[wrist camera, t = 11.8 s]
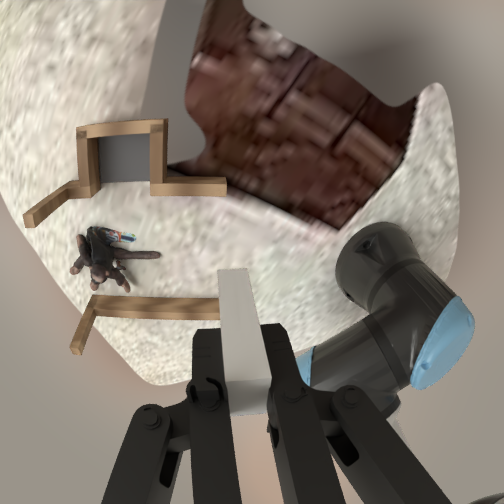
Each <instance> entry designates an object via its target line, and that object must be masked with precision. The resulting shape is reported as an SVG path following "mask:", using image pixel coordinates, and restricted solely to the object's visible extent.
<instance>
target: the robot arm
mask: <svg viewBox="0 0 504 504" xmlns="http://www.w3.org/2000/svg"><path fill="white" fill-rule="evenodd" d="M217 272H218V291H219V307H220V323H221V328H212V329H198V330H197V331H196V333H195V335H194V337H193V344H192V349H193V350H192V379H191V381H190V382H189V383H188V385H187V388H186V394H187V398H186V399H185V400H184V401H182V402H181V403H178V404H176V405H172V406H168V407H165V408H163V407H161V406H159V405H157V404H147V405H143V406H141V407H140V408H138V409H137V410H136V412H135V413H134V415H133V417H132V420H131V422H130V425H129V427H128V430H127V433H126V435H125V438H124V441H123V443H122V446H121V448H120V451H119V454H118V456H117V459H116V462H115V465H114V468H113V470H112V473H111V476H110V479H109V482H108V485H107V488H106V491H105V493H104V497H103V500H102V503H101V504H170V501H171V497H172V493H173V489H174V485H175V481H176V477H177V473H178V469H179V466H180V462H181V458H182V454H183V451H185V450H188V449H191V469H192V485H193V498H194V504H242V500H241V494H240V487H239V481H238V473H237V466H236V459H235V451H234V443H233V435H232V427H231V419H230V416H243V415H254V414H263V413H266V411H267V412H268V417H269V420H268V426H267V432H269V433H270V437H271V443H272V448H273V452H274V457H275V462H276V467H277V472H278V477H279V482H280V486H281V491H282V496H283V500H284V504H346V502H345V499H344V496H343V492H342V489H341V486H340V483H339V479H338V476H337V473H336V470H335V467H334V463H333V460H332V457H331V455H332V456H333V458H334V459H335V461H336V462H337V464H338V465H339V467H340V468H341V470H342V471H343V473H344V474H345V476H346V477H347V479H348V480H349V482H350V483H351V485H352V486H353V488H354V489H355V490H356V492H357V494H358V495H359V497H360V498H361V500H362V501H363V502H364V504H452V503H451V502H450V501H449V499H448V498H447V497H446V495H445V494H444V493H443V492H442V490H441V489H440V488H439V486H438V485H437V484H436V482H435V481H434V480H433V479H432V477H431V476H430V475H429V474H428V472H427V471H426V470H425V468H424V467H423V466H422V465H421V463H420V462H419V461H418V459H417V458H416V457H415V456H414V454H413V453H412V451H411V449H410V446H409V444H408V442H407V440H406V438H405V435H404V433H403V431H402V429H401V427H400V425H399V423H398V421H397V419H396V418H397V414H398V412H399V410H400V407H401V401H400V400H399V397H398V395H397V392H398V391H400V390H401V389H403V388H404V387H406V386H407V385H409V384H411V385H412V387H414V388H416V389H418V390H422V389H425V388H427V387H428V386H429V385H430V386H431V385H433V384H434V383H435V382H437V381H438V380H439V379H441V378H442V377H443V376H444V375H445V374H446V373H447V372H448V371H449V370H450V369H451V368H452V367H453V366H454V365H455V364H456V362H457V361H458V360H459V359H460V357H461V356H462V355H463V353H464V352H465V350H466V348H467V347H468V345H469V343H470V341H471V339H472V336H473V333H474V329H475V321H474V317H473V315H472V313H471V312H470V311H469V310H468V308H467V307H466V306H465V304H464V303H463V302H462V299H461V298H460V297H459V296H457V295H456V294H455V293H454V292H453V291H452V290H451V289H450V288H449V287H448V286H447V285H446V284H445V283H444V282H443V281H442V280H441V279H440V278H439V277H438V276H437V275H436V274H435V273H434V272H433V271H432V270H431V269H430V268H429V267H428V266H427V265H426V264H424V263H423V262H422V261H421V259H420V257H419V254H418V252H417V250H416V249H415V247H414V245H413V243H412V240H411V238H410V237H409V236H408V234H407V233H406V232H405V231H403V230H402V229H401V228H400V227H398V226H397V225H395V224H392V223H388V222H380V223H375V224H372V225H369V226H367V227H365V228H363V229H362V230H360V231H359V232H358V233H356V234H355V235H354V236H353V237H352V238H351V239H350V240H349V241H348V242H347V244H346V245H345V246H344V248H343V250H342V251H341V253H340V255H339V258H338V261H337V264H336V280H337V283H338V285H339V287H340V288H341V290H342V292H343V293H344V294H345V296H346V297H347V298H348V299H350V300H351V301H353V302H355V303H356V304H357V305H359V306H360V307H362V308H363V309H365V310H366V311H368V312H369V314H370V315H368V316H367V317H365V318H364V319H362V320H360V321H359V322H357V323H355V324H354V325H352V326H350V327H349V328H347V329H345V330H344V331H342V332H340V333H339V334H337V335H335V336H334V337H332V338H330V339H328V340H327V341H325V342H323V343H321V344H319V345H318V346H313V347H312V348H311V349H310V350H309V351H307V352H305V353H304V354H302V355H301V356H299V357H297V358H295V356H294V352H293V350H292V346H291V343H290V340H289V337H288V334H287V331H286V330H285V329H284V328H283V327H282V325H281V324H280V323H275V324H264V325H260V324H259V319H258V315H257V310H256V306H255V301H254V297H253V292H252V288H251V283H250V279H249V274H248V270H247V268H243V269H223V270H217ZM469 504H504V493H499V494H495V495H491V496H487V497H484V498H481V499H478V500H476V501H473V502H471V503H469Z"/></svg>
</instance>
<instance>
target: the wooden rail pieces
mask: <svg viewBox="0 0 504 504" xmlns="http://www.w3.org/2000/svg"><path fill="white" fill-rule="evenodd" d="M141 133H150V195H151V196H219V197H226V191H227V182H226V177H199V176H167V139H168V119H144V120H129V121H118V122H108V123H99V124H92V125H86V126H81V127H77V128H76V140H77V161H78V174H79V180H77V181H69V182H68V183H66V184H64V185H63V186H62V187H60V188H59V189H57V190H56V191H54V192H53V193H51V194H50V195H48V196H47V197H46V198H44V199H43V200H42V201H40V202H39V203H37V204H36V205H35V206H33V207H32V208H31V209H30V210H28V211H27V212H26V213H24V214H23V219H24V224H25V228H35V227H37V226H38V225H39V224H40V223H41V222H42V221H43V220H44V219H45V218H47V217H48V216H49V215H50V214H51V213H52V212H54V211H55V210H56V209H57V208H58V207H60V206H61V205H62V204H63V203H64V202H66V201H67V200H68V199H80V198H91V197H93V196H94V195H95V194H96V193H97V192H98V191H99V190H101V187H100V174H99V157H98V137H103V136H113V135H125V134H141ZM96 316H106V317H121V318H139V319H164V320H220V307H219V298H154V297H126V296H106V295H92V297H91V299H90V301H89V303H88V305H87V307H86V309H85V312H84V314H83V316H82V318H81V321H80V323H79V325H78V327H77V330H76V332H75V335H74V337H73V340H72V342H71V345H70V349H71V351H72V353H73V354H76V355H82V352H83V350H84V347H85V344H86V341H87V338H88V336H89V333H90V330H91V328H92V325H93V323H94V320H95V318H96Z"/></svg>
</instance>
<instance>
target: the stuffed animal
mask: <svg viewBox="0 0 504 504" xmlns="http://www.w3.org/2000/svg"><path fill="white" fill-rule="evenodd" d="M86 237H87V239H88V240H89V241H91V247H90V245H89V244H88V242H87V240H86V238H85V237H84V236H83V235H80V234H79V235H77V237H76V238H77V244H78V248H79V252H80V255H81V256H79V258H78V259H77V261H76V262H75V263H74V266H73V267H72V268H71V269H70V273H71V274H72V275H75V274H78V273H79V271H80V269H82V267H83V265H85V266H88V267H89V268H90V271H91V272H90V273H91V278H92V280H91V284H90V287H91V289H92V290H93V291H96V290H97V288H98V285H99V284H100V283H103V282H105V281H106V279H107V278H111V279H115V280H116V282H117V284H118V285H119V286H122V287H124V289H125V291H126V292H127V293H129V292H130V285H129V283H128V281H127V280H126V279H125V277H124V275H123V274H121V272H120V271H119V270H122V269H123V270H126V268H125V267H124V266H121V265H120V261H118V260H117V261H116V263H117V267H116V268H115V267H114V266H113V263H112V262H113V259H114V258H116V259H121V260H122V259H156V258H159V257H160V255H159V253H157V252H154V251H139V252H137V251H135V252H131V251H128V250H125V249H122V248H115V247H113V246H110V244H111V243H112V242H134V241H135V240H136V237H135V235H134V234H130V233H123V232H118V231H115V230H111V229H108V228H104V227H90V228H88V229H87V235H86ZM91 248H92V249H91Z"/></svg>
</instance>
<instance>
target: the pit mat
mask: <svg viewBox="0 0 504 504" xmlns="http://www.w3.org/2000/svg"><path fill="white" fill-rule="evenodd" d="M99 153H100V173H101V183H108V182H131V181H150V133H141V134H125V135H113V136H103V137H99Z"/></svg>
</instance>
